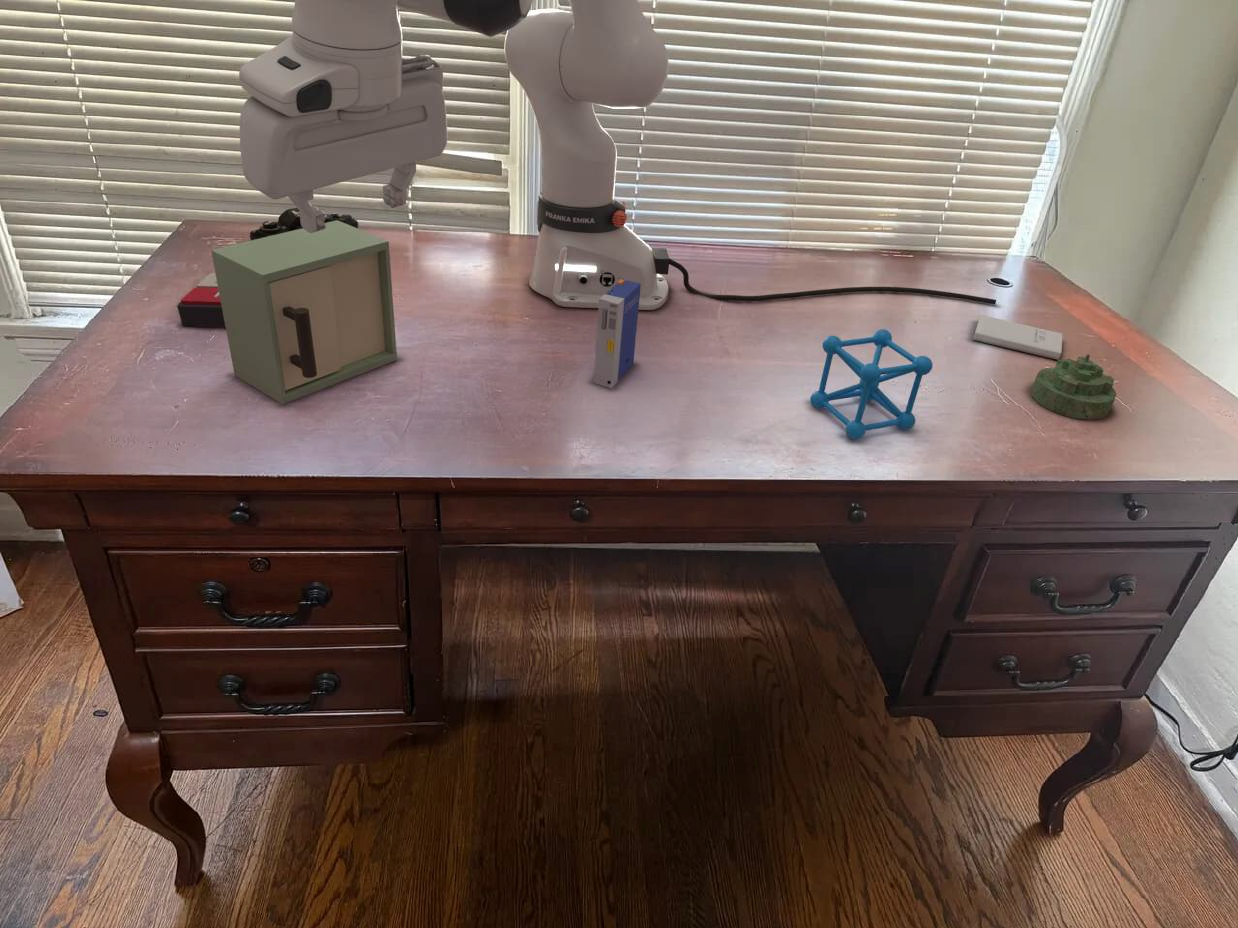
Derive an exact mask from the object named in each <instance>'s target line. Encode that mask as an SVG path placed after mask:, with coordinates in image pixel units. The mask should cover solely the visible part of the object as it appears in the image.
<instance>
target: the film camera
mask: <svg viewBox="0 0 1238 928" xmlns="http://www.w3.org/2000/svg"><path fill="white" fill-rule="evenodd" d="M336 220H338V221H340V222H343V223H345V224H348V225H350V226H353V227H355V228H357V229H359V221H358V220H357V219H355V218H353V217H352V215H350V214H341V215H339V214H338V213H336V212H332V213H325V221H324V223H328V222H332V221H336ZM261 224H262V225H260V226H259V228H258V229H253V230H251V231H250V232H249V238H250V241H251V240H256V239H260V238H264V237H268V236H273V235H277V234H281V233H285V232H290V231H294V230H298V229H302V228H303V227H302V226H301V221H300V210H298V209H297V207H292V208H288V209H285V210H284V211H283V212H282V213H280V215H279V217H278V219H277V221H272V220H271V221H270V220H267V221H263V222H262V223H261Z"/></svg>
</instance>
